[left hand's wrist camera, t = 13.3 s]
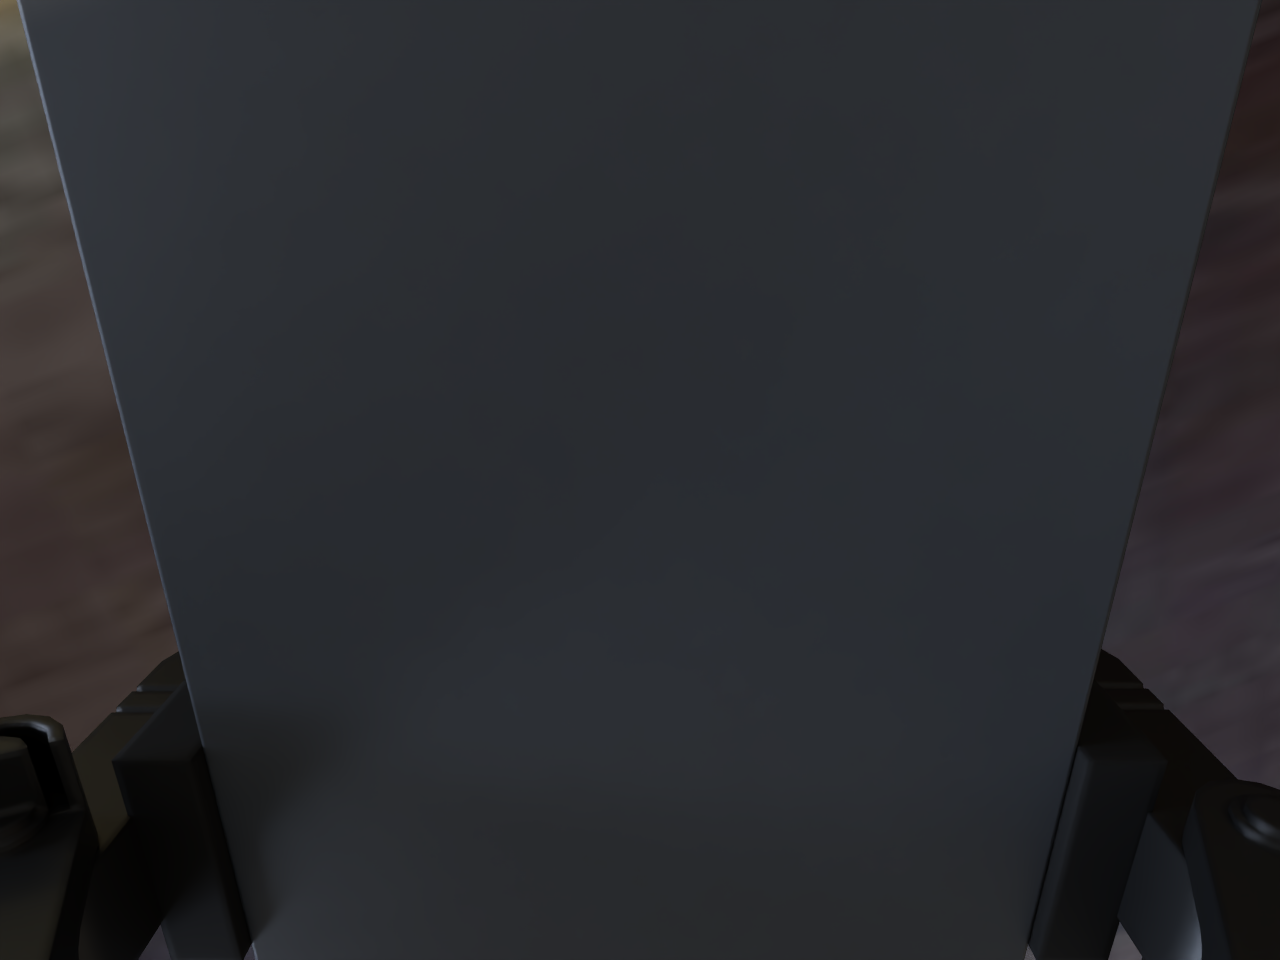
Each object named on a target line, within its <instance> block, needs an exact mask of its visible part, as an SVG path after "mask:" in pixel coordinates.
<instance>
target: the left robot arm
mask: <svg viewBox="0 0 1280 960" xmlns="http://www.w3.org/2000/svg"><path fill="white" fill-rule="evenodd" d="M1163 705H1164V704H1163V703H1162V702H1161V701H1160V700H1159V699H1158V698H1157V697H1156V696H1155V695H1154V694H1153V693H1152V692H1151V691H1150V690H1149V689H1144V688H1143V683H1142V682H1141V681H1140V680H1139V679H1138V678H1137V677H1136V676H1135V675H1134V674H1133V673H1132V672H1131V671H1130V670H1129V669H1128V668H1127V667H1126V666H1125V665H1124V664H1123V663H1122V662H1121V661H1120V660H1119V659H1118V658H1116V657H1114V656H1113V655H1111V654H1109V653H1108V652H1106V651H1104V650H1102V649H1101V651H1100V655H1099V659H1098V664H1097V668H1096V672H1095V676H1094V680H1093V684H1092V688H1091V692H1090V696H1089V700H1088V704H1087V708H1086V712H1085V716H1084V720H1083V724H1082V728H1081V732H1080V736H1079V740H1078V744H1077V748H1076V752H1075V756H1074V760H1073V764H1072V768H1071V772H1070V776H1069V780H1068V784H1067V789H1066V793H1065V797H1064V801H1063V805H1062V809H1061V813H1060V817H1059V821H1058V825H1057V829H1056V833H1055V837H1054V841H1053V845H1052V849H1051V853H1050V857H1049V861H1048V865H1047V869H1046V873H1045V877H1044V881H1043V885H1042V889H1041V893H1040V897H1039V901H1038V905H1037V909H1036V914H1035V918H1034V922H1033V926H1032V930H1031V934H1030V938H1029V942H1028V945H1029V947H1030V948H1031V950H1032V952H1033V954H1034V956H1035V958H1036V960H1108V958H1109V955H1110V951H1111V948H1112V945H1113V941H1114V938H1115V935H1116V932H1117V928H1118V925H1119V922H1120V923H1121V924H1122V926H1123V927H1124V929H1125V930H1126V932H1127V933H1128V935H1129V936H1130V938H1131V940H1132V941H1133V943H1134V944H1135V946H1136V947H1137V949H1138V950H1139V952H1140V954H1141V955H1142V960H1280V790H1279V789H1276V788H1273V787H1270V786H1267V785H1264V784H1261V783H1257V782H1250V781H1244V780H1238V779H1237V778H1236V777H1235V776H1234V775H1233V774H1232V773H1231V772H1230V771H1229V770H1228V769H1227V768H1226V767H1225V766H1224V765H1223V764H1222V763H1221V762H1220V761H1219V760H1218V759H1217V758H1216V757H1215V756H1214V755H1213V754H1212V753H1211V752H1210V751H1209V750H1208V749H1207V748H1206V747H1205V746H1204V745H1203V744H1202V743H1201V742H1200V741H1199V740H1198V739H1197V738H1196V737H1195V736H1194V735H1193V734H1192V733H1191V732H1190V731H1189V730H1188V729H1187V728H1186V727H1185V726H1184V725H1183V724H1182V723H1181V722H1180V721H1179V720H1178V719H1177V718H1176V717H1175V716H1174V715H1173V714H1172V713H1171V712H1170V710H1164V707H1163ZM160 924H161V927H162V930H163V934H164V937H165V940H166V944H167V947H168V950H169V954H170V957H171V960H243V959H244V957H245V955H246V953H247V951H248V949H249V947H250V945H251V939H250V935H249V931H248V927H247V923H246V919H245V915H244V911H243V907H242V903H241V899H240V895H239V891H238V887H237V883H236V879H235V875H234V871H233V867H232V863H231V859H230V855H229V851H228V847H227V843H226V839H225V835H224V831H223V827H222V822H221V818H220V814H219V810H218V806H217V802H216V798H215V794H214V790H213V786H212V782H211V778H210V774H209V770H208V766H207V762H206V758H205V754H204V750H203V746H202V742H201V738H200V734H199V730H198V726H197V722H196V718H195V714H194V710H193V706H192V702H191V698H190V694H189V690H188V686H187V682H186V678H185V674H184V670H183V666H182V662H181V658H180V654H179V652H177V653H175V654H174V655H172V656H170V657H169V658H167V659H165V660H164V661H162V662H161V663H160V664H159V665H158V666H157V667H156V668H155V669H154V670H153V671H152V672H151V673H150V674H149V675H148V676H147V677H146V678H145V679H144V680H143V681H142V682H141V683H140V684H139V685H138V686H137V691H136V692H131V693H130V694H129V695H128V696H127V697H126V698H125V699H124V700H123V701H122V702H121V703H120V704H119V705H118V706H117V711H116V713H111V714H110V715H109V716H108V717H107V718H106V719H105V720H104V721H103V722H102V723H101V724H100V725H99V726H98V727H97V728H96V729H95V730H94V731H93V732H92V733H91V734H90V735H89V736H88V737H87V738H86V739H85V740H84V741H83V742H82V743H81V744H80V745H79V746H78V747H77V748H76V749H75V750H74V751H73V752H72V753H71V750H70V747H69V743H68V740H67V737H66V734H65V731H64V728H63V725H62V724H60V723H58V722H57V721H55V720H54V719H52V718H51V717H48V716H39V715H29V714H25V715H18V716H11V717H3V718H0V960H138V959H139V957H140V955H141V954H142V952H143V951H144V949H145V948H146V946H147V945H148V943H149V941H150V940H151V938H152V937H153V935H154V934H155V932H156V930H157V929H158V927H159V926H160Z"/></svg>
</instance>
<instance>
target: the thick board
mask: <svg viewBox="0 0 1280 960" xmlns="http://www.w3.org/2000/svg"><path fill="white" fill-rule="evenodd" d="M1261 2H1262V0H17V3H18V7H19V11H20V15H21V19H22V23H23V27H24V31H25V35H26V39H27V43H28V47H29V51H30V55H31V59H32V63H33V67H34V71H35V75H36V79H37V83H38V88H39V92H40V96H41V100H42V104H43V108H44V112H45V116H46V120H47V124H48V128H49V132H50V136H51V140H52V144H53V148H54V152H55V156H56V160H57V164H58V168H59V172H60V176H61V180H62V184H63V188H64V192H65V196H66V200H67V204H68V208H69V212H70V216H71V220H72V224H73V228H74V232H75V236H76V240H77V244H78V248H79V252H80V256H81V260H82V264H83V268H84V272H85V276H86V280H87V284H88V288H89V292H90V296H91V300H92V304H93V308H94V312H95V316H96V320H97V324H98V328H99V333H100V337H101V341H102V345H103V349H104V353H105V357H106V361H107V365H108V369H109V373H110V377H111V381H112V385H113V389H114V393H115V397H116V401H117V405H118V409H119V413H120V417H121V421H122V425H123V429H124V433H125V437H126V441H127V445H128V449H129V453H130V457H131V461H132V465H133V469H134V473H135V477H136V481H137V485H138V489H139V493H140V497H141V501H142V505H143V509H144V513H145V517H146V521H147V525H148V529H149V533H150V537H151V541H152V545H153V549H154V553H155V557H156V561H157V565H158V569H159V573H160V577H161V582H162V586H163V590H164V594H165V598H166V602H167V606H168V610H169V614H170V618H171V622H172V626H173V630H174V634H175V638H176V642H177V646H178V650H179V654H180V658H181V662H182V666H183V670H184V674H185V678H186V682H187V686H188V690H189V694H190V698H191V702H192V706H193V710H194V714H195V718H196V722H197V726H198V730H199V734H200V738H201V742H202V746H203V750H204V754H205V758H206V762H207V766H208V770H209V774H210V778H211V782H212V786H213V790H214V794H215V798H216V802H217V806H218V810H219V814H220V818H221V822H222V827H223V831H224V835H225V839H226V843H227V847H228V851H229V855H230V859H231V863H232V867H233V871H234V875H235V879H236V883H237V887H238V891H239V895H240V899H241V903H242V907H243V911H244V915H245V919H246V923H247V927H248V931H249V935H250V939H251V943H252V947H253V951H254V955H255V959H256V960H1024V958H1025V954H1026V950H1027V946H1028V942H1029V938H1030V934H1031V930H1032V926H1033V922H1034V918H1035V914H1036V909H1037V905H1038V901H1039V897H1040V893H1041V889H1042V885H1043V881H1044V877H1045V873H1046V869H1047V865H1048V861H1049V857H1050V853H1051V849H1052V845H1053V841H1054V837H1055V833H1056V829H1057V825H1058V821H1059V817H1060V813H1061V809H1062V805H1063V801H1064V797H1065V793H1066V789H1067V784H1068V780H1069V776H1070V772H1071V768H1072V764H1073V760H1074V756H1075V752H1076V748H1077V744H1078V740H1079V736H1080V732H1081V728H1082V724H1083V720H1084V716H1085V712H1086V708H1087V704H1088V700H1089V696H1090V692H1091V688H1092V684H1093V680H1094V676H1095V672H1096V668H1097V664H1098V659H1099V655H1100V651H1101V647H1102V643H1103V639H1104V635H1105V631H1106V627H1107V623H1108V619H1109V615H1110V611H1111V607H1112V603H1113V599H1114V595H1115V591H1116V587H1117V583H1118V579H1119V575H1120V571H1121V567H1122V563H1123V559H1124V555H1125V551H1126V547H1127V543H1128V538H1129V534H1130V530H1131V526H1132V522H1133V518H1134V514H1135V510H1136V506H1137V502H1138V498H1139V494H1140V490H1141V486H1142V482H1143V478H1144V474H1145V470H1146V466H1147V462H1148V458H1149V454H1150V450H1151V446H1152V442H1153V438H1154V434H1155V430H1156V426H1157V422H1158V418H1159V413H1160V409H1161V405H1162V401H1163V397H1164V393H1165V389H1166V385H1167V381H1168V377H1169V373H1170V369H1171V365H1172V361H1173V357H1174V353H1175V349H1176V345H1177V341H1178V337H1179V333H1180V329H1181V325H1182V321H1183V317H1184V313H1185V309H1186V305H1187V301H1188V297H1189V293H1190V288H1191V284H1192V280H1193V276H1194V272H1195V268H1196V264H1197V260H1198V256H1199V252H1200V248H1201V244H1202V240H1203V236H1204V232H1205V228H1206V224H1207V220H1208V216H1209V212H1210V208H1211V204H1212V200H1213V196H1214V192H1215V188H1216V184H1217V180H1218V176H1219V172H1220V167H1221V163H1222V159H1223V155H1224V151H1225V147H1226V143H1227V139H1228V135H1229V131H1230V127H1231V123H1232V119H1233V115H1234V111H1235V107H1236V103H1237V99H1238V95H1239V91H1240V87H1241V83H1242V79H1243V75H1244V71H1245V67H1246V63H1247V59H1248V55H1249V51H1250V47H1251V42H1252V38H1253V34H1254V30H1255V26H1256V22H1257V18H1258V14H1259V10H1260V6H1261Z"/></svg>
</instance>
